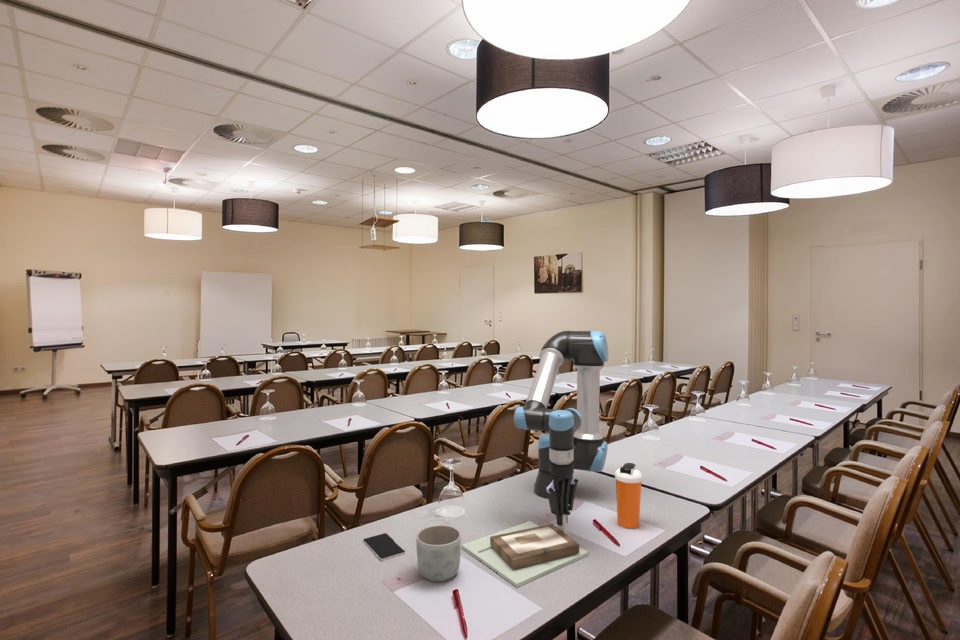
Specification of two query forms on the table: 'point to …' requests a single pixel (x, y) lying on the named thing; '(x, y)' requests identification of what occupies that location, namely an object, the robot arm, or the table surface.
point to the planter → (438, 552)
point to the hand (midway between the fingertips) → (562, 534)
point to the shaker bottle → (628, 495)
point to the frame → (533, 545)
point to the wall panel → (523, 574)
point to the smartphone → (384, 546)
